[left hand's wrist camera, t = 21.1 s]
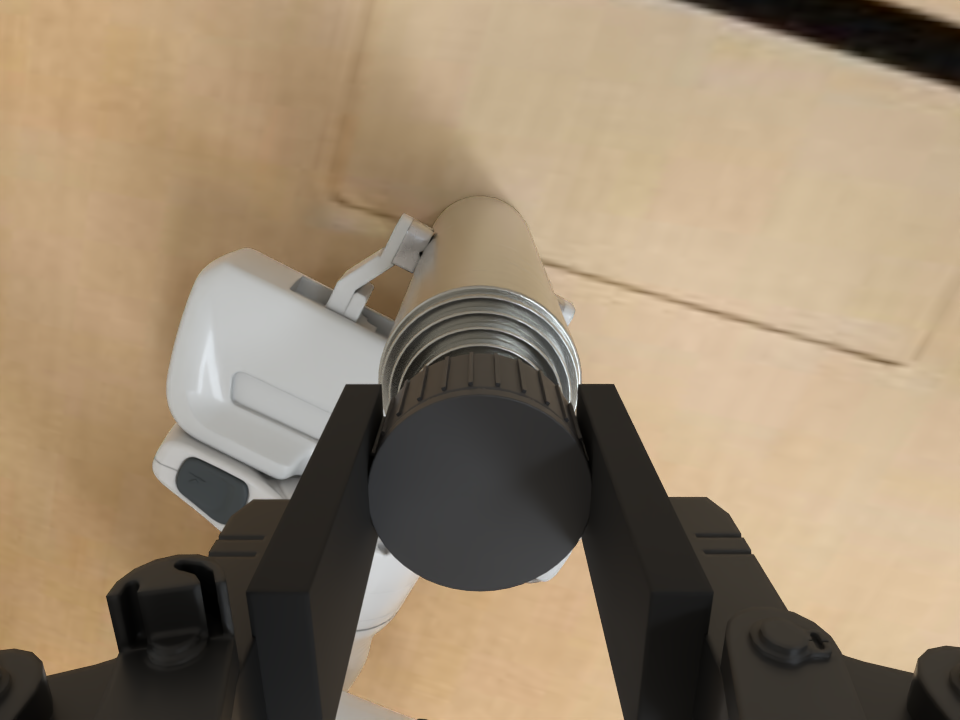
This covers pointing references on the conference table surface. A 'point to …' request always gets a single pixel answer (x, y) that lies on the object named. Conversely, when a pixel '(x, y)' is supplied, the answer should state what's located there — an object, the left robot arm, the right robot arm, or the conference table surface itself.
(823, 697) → the left robot arm
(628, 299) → the conference table surface
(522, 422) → the cap
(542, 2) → the conference table surface
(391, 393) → the bottle
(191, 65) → the conference table surface
